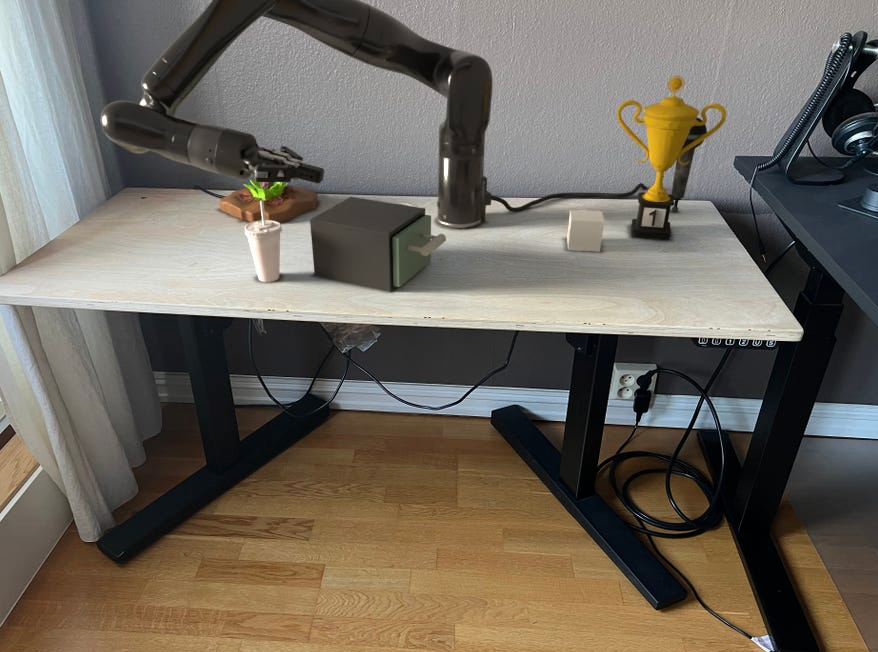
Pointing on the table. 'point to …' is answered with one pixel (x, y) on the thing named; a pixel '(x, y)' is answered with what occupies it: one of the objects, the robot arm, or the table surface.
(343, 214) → the cabinet
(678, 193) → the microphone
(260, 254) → the smoothie
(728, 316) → the table surface
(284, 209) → the plant
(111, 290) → the table surface
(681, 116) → the trophy
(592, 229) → the off-white cube
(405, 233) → the drawer
